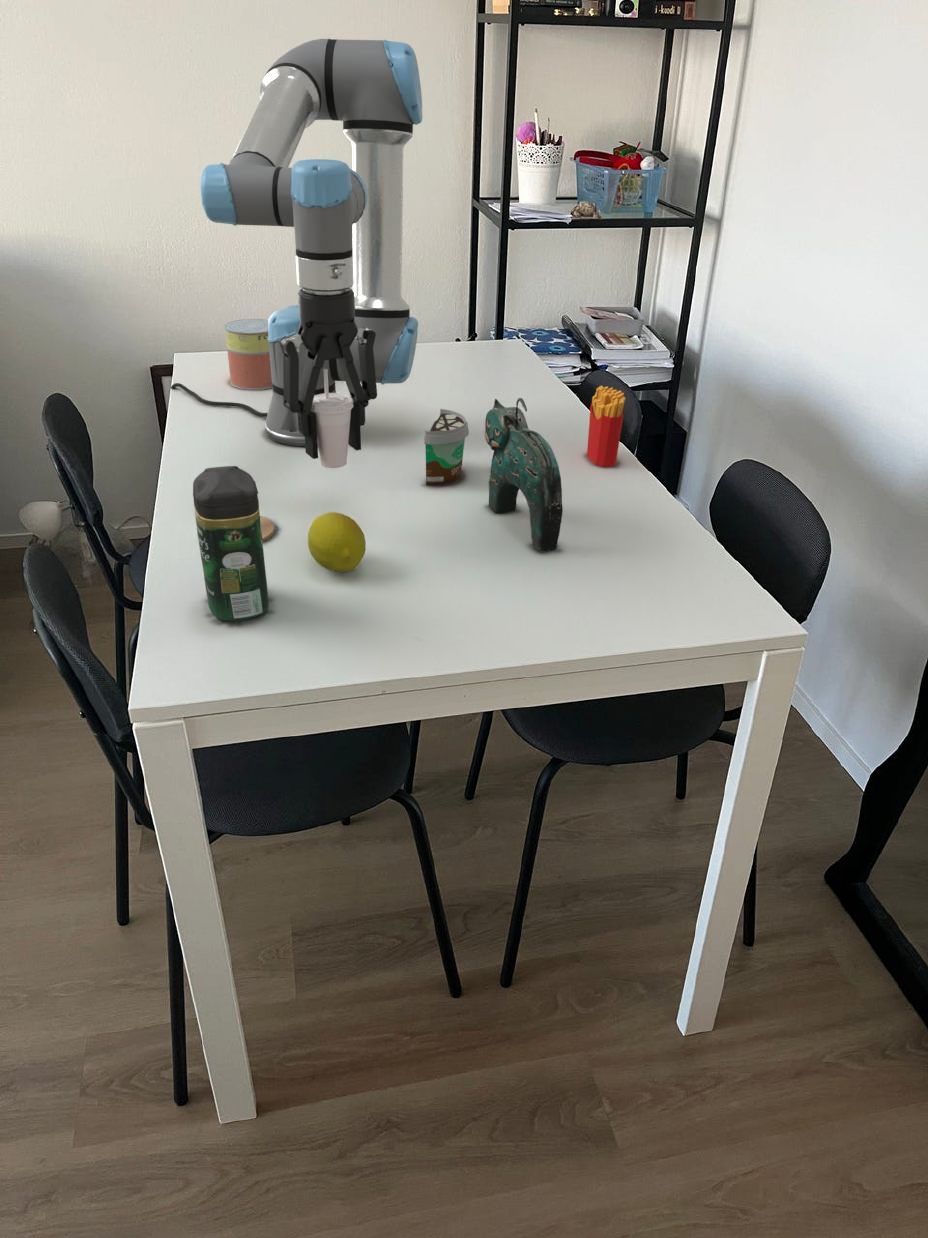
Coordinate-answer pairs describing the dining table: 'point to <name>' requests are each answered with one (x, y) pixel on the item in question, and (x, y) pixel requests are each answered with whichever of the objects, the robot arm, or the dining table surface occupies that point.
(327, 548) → the lemon
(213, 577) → the coffee jar
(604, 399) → the french fries
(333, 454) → the white drink cup
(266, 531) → the cork coaster
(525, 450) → the ceramic cat
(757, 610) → the dining table surface
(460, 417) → the food container
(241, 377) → the canned food
